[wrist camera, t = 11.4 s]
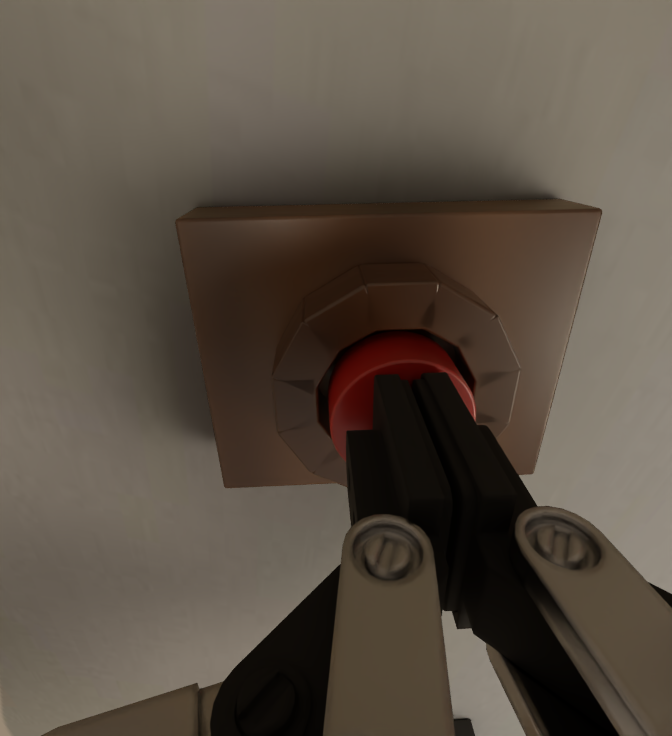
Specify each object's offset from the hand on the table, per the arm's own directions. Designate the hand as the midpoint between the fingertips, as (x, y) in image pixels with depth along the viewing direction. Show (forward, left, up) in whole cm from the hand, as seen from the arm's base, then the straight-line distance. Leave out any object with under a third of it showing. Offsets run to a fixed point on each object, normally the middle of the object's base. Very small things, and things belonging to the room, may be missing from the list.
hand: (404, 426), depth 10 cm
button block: (0, 0, -5) cm, 5 cm away
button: (0, 0, -2) cm, 2 cm away
